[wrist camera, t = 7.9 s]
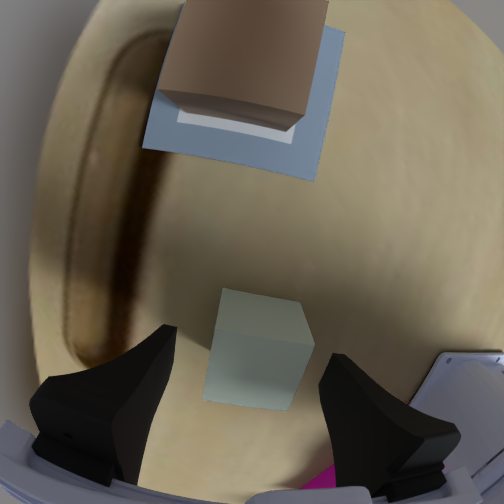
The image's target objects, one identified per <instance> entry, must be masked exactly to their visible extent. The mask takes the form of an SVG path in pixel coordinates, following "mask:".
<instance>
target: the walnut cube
mask: <svg viewBox="0 0 504 504" xmlns="http://www.w3.org/2000/svg"><path fill="white" fill-rule="evenodd" d="M328 3H329V1H326V0H186V3H185V5H184V8H183V11H182V13H181V16H180V19H179V21H178V24H177V27H176V30H175V32H174V35H173V38H172V41H171V44H170V47H169V50H168V53H167V57H166V60H165V63H164V66H163V70H162V73H161V77H160V80H159V84H158V88H157V89H158V90H159V91H160V92H161V93H163V94H164V95H165V96H166V97H168V98H169V99H170V100H171V101H173V102H174V103H175V104H176V105H178V106H179V107H180V108H181V109H182V110H184V111H185V112H186V113H190V114H197V115H204V116H210V117H216V118H222V119H227V120H233V121H238V122H243V123H248V124H253V125H257V126H262V127H266V128H271V129H275V130H279V131H284V132H287V131H288V130H289V129H290V128H291V127H292V126H293V125H295V124H296V123H297V122H298V121H299V120H300V119H301V118H302V117H304V116H305V113H306V109H307V104H308V100H309V95H310V90H311V86H312V81H313V76H314V72H315V67H316V62H317V58H318V53H319V48H320V43H321V38H322V33H323V28H324V23H325V18H326V13H327V8H328Z"/></svg>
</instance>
